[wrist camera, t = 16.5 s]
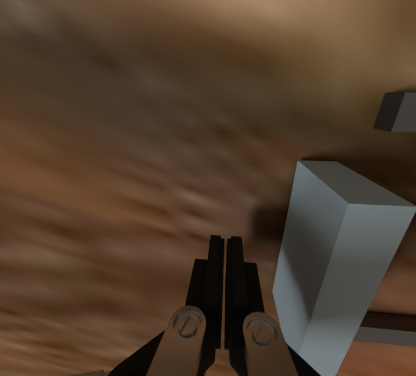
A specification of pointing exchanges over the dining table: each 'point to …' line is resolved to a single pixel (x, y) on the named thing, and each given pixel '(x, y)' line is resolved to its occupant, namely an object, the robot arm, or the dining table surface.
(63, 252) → the dining table surface
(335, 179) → the block
